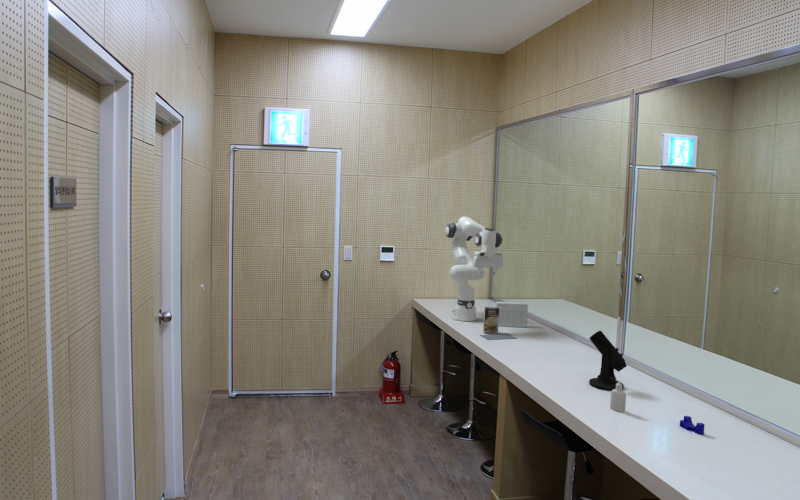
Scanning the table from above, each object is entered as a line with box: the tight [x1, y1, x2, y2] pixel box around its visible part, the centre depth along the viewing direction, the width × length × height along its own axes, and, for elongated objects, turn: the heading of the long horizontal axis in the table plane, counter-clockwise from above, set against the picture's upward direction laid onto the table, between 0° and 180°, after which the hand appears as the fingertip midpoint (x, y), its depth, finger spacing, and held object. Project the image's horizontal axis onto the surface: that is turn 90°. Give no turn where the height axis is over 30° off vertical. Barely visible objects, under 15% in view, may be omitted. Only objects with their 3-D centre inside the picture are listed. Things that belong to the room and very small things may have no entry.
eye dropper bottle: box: [609, 380, 627, 413], centre depth 218 cm, size 4×6×12 cm
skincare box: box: [495, 301, 529, 328], centre depth 365 cm, size 21×6×16 cm, turn 84°
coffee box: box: [482, 306, 499, 335], centre depth 344 cm, size 9×6×16 cm
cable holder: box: [679, 415, 706, 436], centre depth 200 cm, size 8×4×4 cm, turn 13°
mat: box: [479, 333, 518, 341], centre depth 334 cm, size 11×20×1 cm, turn 107°
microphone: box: [588, 330, 628, 392], centre depth 247 cm, size 15×17×25 cm
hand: (487, 274), depth 349 cm, fingers open, 8 cm apart
